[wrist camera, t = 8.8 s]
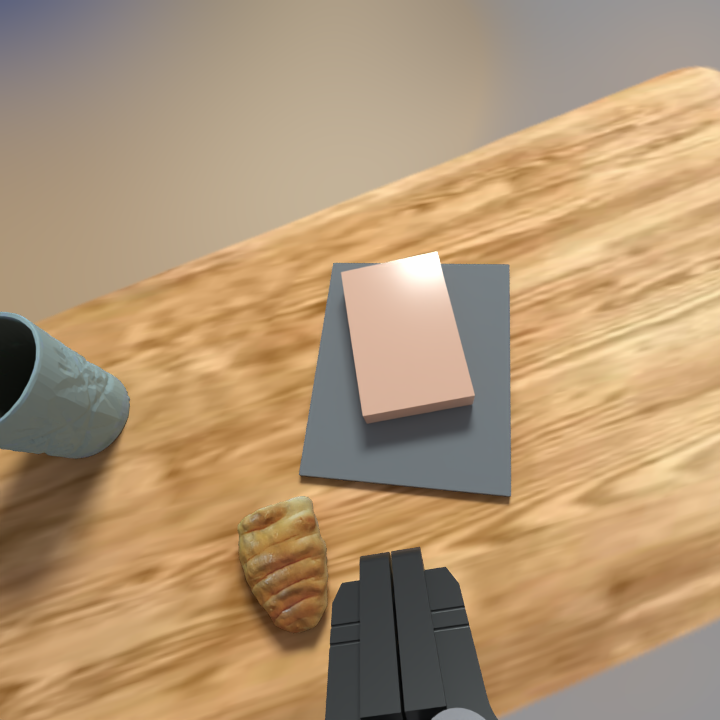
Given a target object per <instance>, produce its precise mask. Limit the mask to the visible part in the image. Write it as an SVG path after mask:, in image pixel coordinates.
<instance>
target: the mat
mask: <svg viewBox="0 0 720 720" xmlns="http://www.w3.org/2000/svg"><path fill="white" fill-rule="evenodd" d="M377 264H381V263H333V269H332V275H331V281H330V287H329V293H328V299H327V305H326V312H325V318H324V324H323V330H322V336H321V342H320V349H319V355H318V361H317V367H316V373H315V379H314V385H313V392H312V398H311V404H310V410H309V416H308V422H307V428H306V435H305V441H304V447H303V453H302V459H301V465H300V471H299V475H300V476H308V477H318V478H328V479H338V480H348V481H358V482H368V483H378V484H388V485H397V486H407V487H417V488H427V489H437V490H447V491H457V492H467V493H477V494H487V495H497V496H507V497H510V496H511V429H510V295H509V265H506V264H441V268H442V272H443V276H444V279H445V283H446V287H447V291H448V295H449V298H450V302H451V306H452V310H453V314H454V317H455V321H456V325H457V329H458V333H459V337H460V340H461V344H462V348H463V352H464V356H465V359H466V363H467V367H468V371H469V375H470V378H471V382H472V386H473V390H474V394H475V397H474V401H473V404H472V405H466V406H461V407H455V408H450V409H445V410H439V411H434V412H428V413H423V414H417V415H412V416H406V417H401V418H396V419H390V420H385V421H379V422H374V423H368V424H367V423H366V421H365V419H364V417H363V414H362V408H361V401H360V394H359V388H358V381H357V375H356V368H355V362H354V355H353V348H352V342H351V335H350V329H349V322H348V315H347V309H346V302H345V296H344V289H343V282H342V276H341V272H344V271H349V270H353V269H358V268H363V267H367V266H372V265H377Z"/></svg>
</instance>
